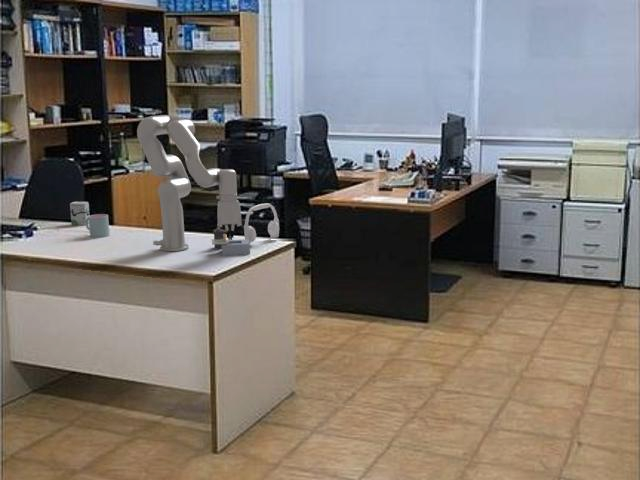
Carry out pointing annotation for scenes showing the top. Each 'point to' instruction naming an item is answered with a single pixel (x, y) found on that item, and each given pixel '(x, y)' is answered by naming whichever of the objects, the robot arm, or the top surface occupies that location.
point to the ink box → (79, 213)
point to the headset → (272, 226)
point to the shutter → (219, 240)
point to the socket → (236, 247)
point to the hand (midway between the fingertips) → (230, 239)
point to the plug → (218, 237)
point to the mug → (98, 225)
